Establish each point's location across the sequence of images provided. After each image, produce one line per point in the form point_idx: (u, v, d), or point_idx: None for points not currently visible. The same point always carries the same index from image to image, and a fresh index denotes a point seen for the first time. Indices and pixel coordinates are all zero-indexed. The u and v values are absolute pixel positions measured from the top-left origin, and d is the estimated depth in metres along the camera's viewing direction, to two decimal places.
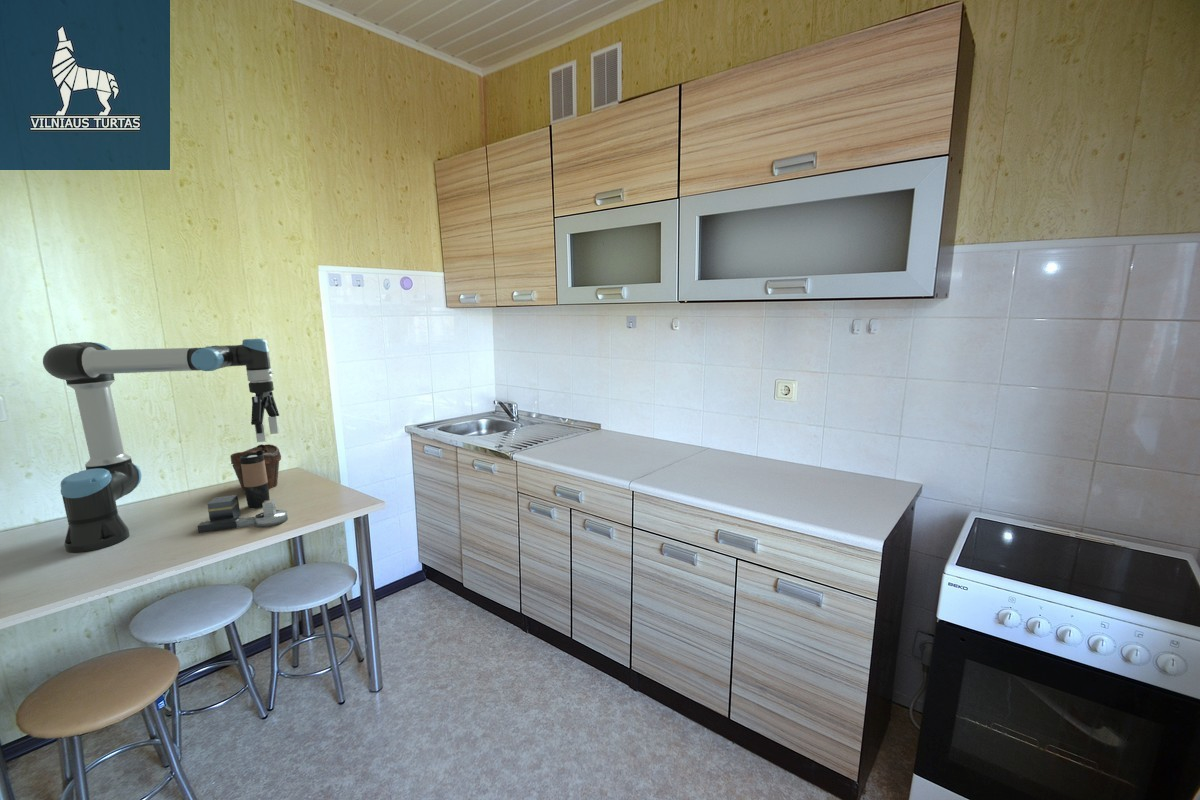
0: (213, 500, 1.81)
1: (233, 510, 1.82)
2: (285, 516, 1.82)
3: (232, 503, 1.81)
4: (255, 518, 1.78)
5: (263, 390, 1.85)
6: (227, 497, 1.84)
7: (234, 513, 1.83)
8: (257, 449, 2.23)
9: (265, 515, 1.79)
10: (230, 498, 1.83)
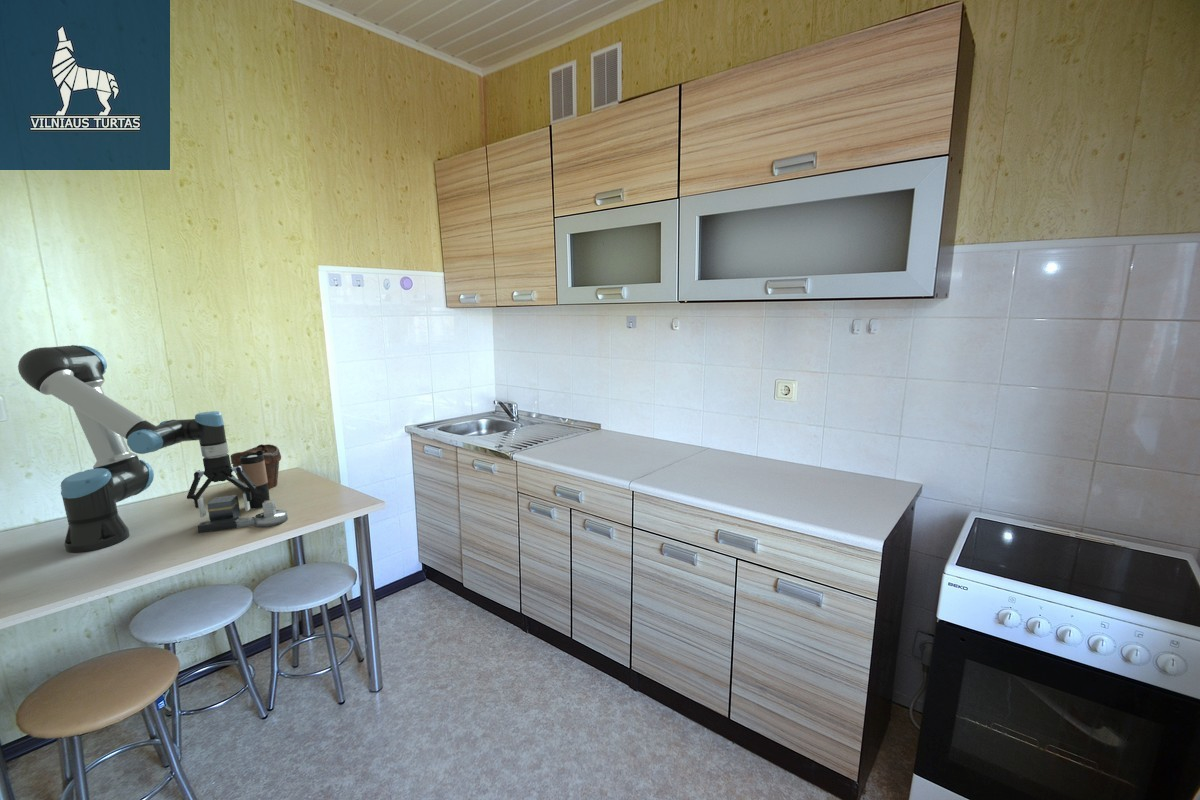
0: (213, 500, 1.81)
1: (233, 510, 1.82)
2: (285, 516, 1.82)
3: (232, 503, 1.81)
4: (255, 518, 1.78)
5: (204, 466, 1.78)
6: (227, 497, 1.84)
7: (234, 513, 1.83)
8: (257, 449, 2.23)
9: (265, 515, 1.79)
10: (230, 498, 1.83)
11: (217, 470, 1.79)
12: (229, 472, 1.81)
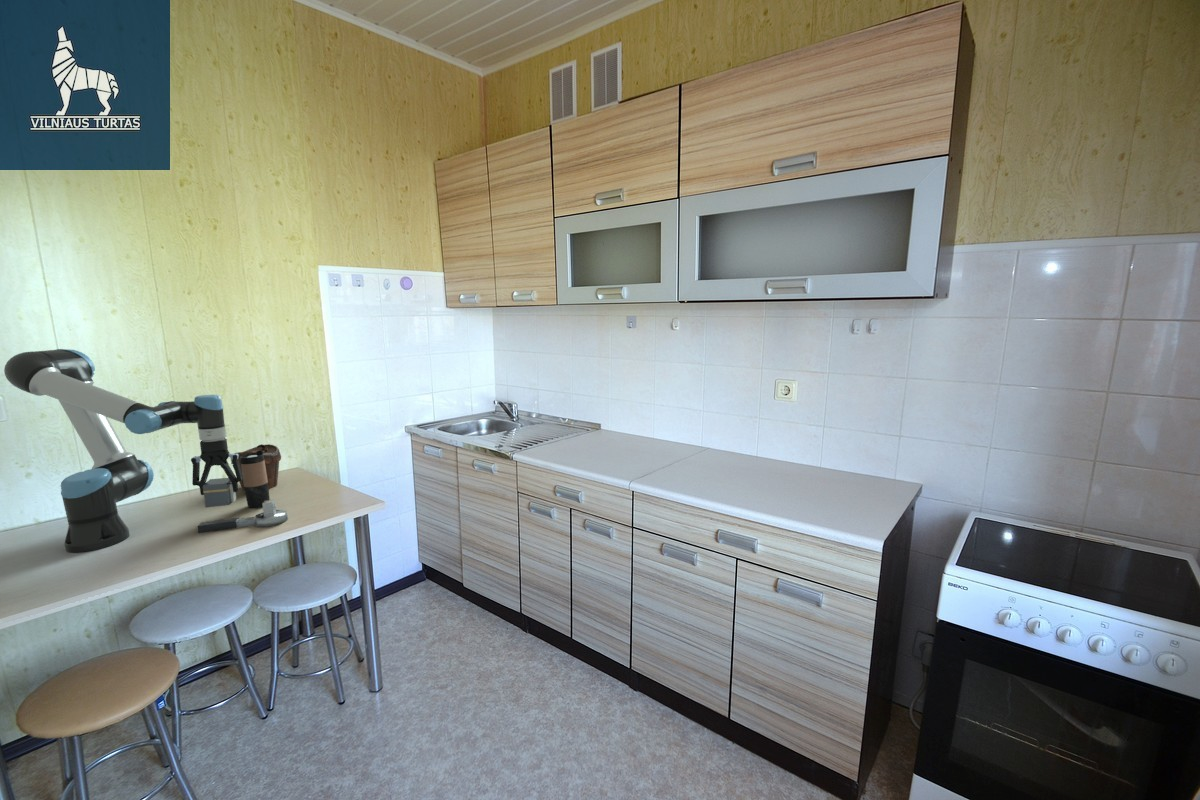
0: (209, 482, 1.80)
1: (228, 492, 1.80)
2: (285, 516, 1.82)
3: (228, 485, 1.80)
4: (255, 518, 1.78)
5: None
6: (223, 480, 1.82)
7: (229, 495, 1.81)
8: (257, 449, 2.23)
9: (265, 515, 1.79)
10: (226, 480, 1.82)
11: (214, 454, 1.78)
12: (226, 456, 1.80)
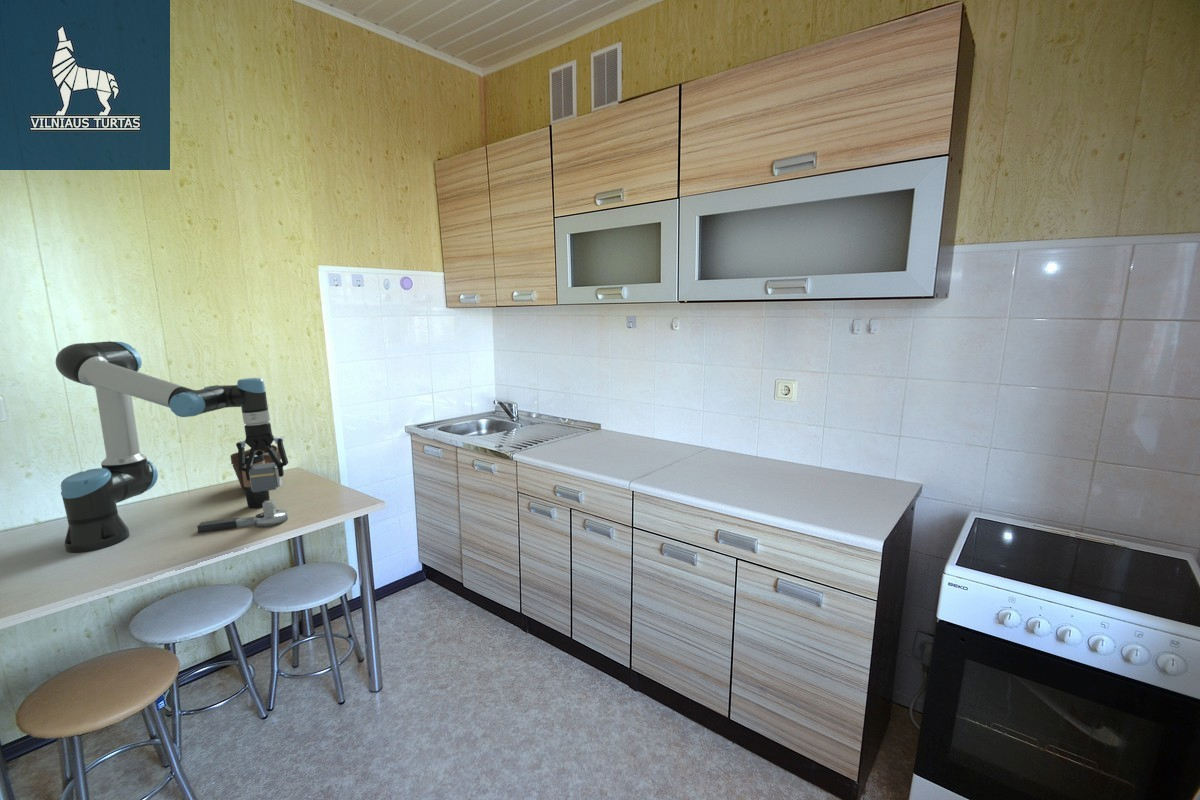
0: (254, 466, 1.77)
1: (275, 477, 1.77)
2: (285, 516, 1.82)
3: (274, 469, 1.77)
4: (255, 518, 1.78)
5: None
6: (268, 464, 1.79)
7: (276, 480, 1.78)
8: None
9: (265, 515, 1.79)
10: (271, 465, 1.78)
11: (258, 438, 1.75)
12: (270, 440, 1.77)
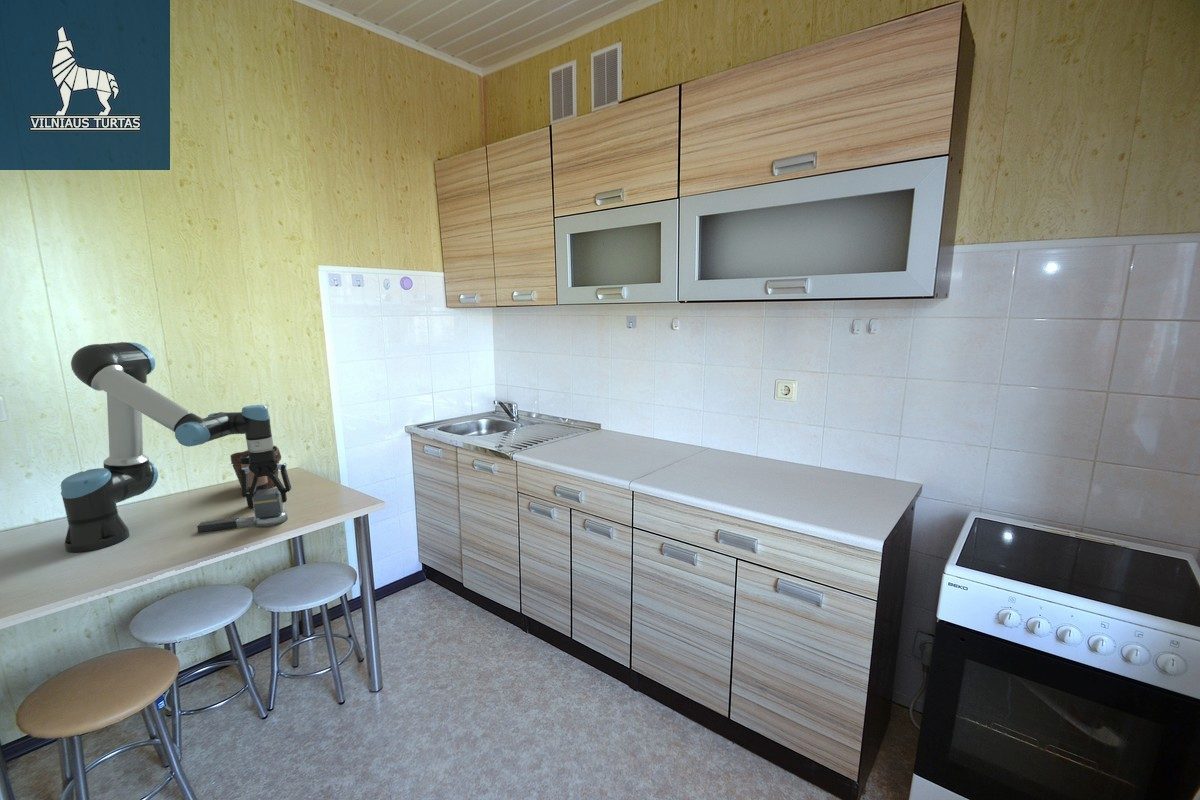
0: (258, 493, 1.78)
1: (278, 503, 1.79)
2: (285, 516, 1.82)
3: (277, 496, 1.79)
4: (255, 518, 1.78)
5: (249, 461, 1.75)
6: (271, 490, 1.81)
7: (279, 505, 1.80)
8: None
9: None
10: (274, 491, 1.80)
11: (262, 465, 1.77)
12: (274, 467, 1.78)
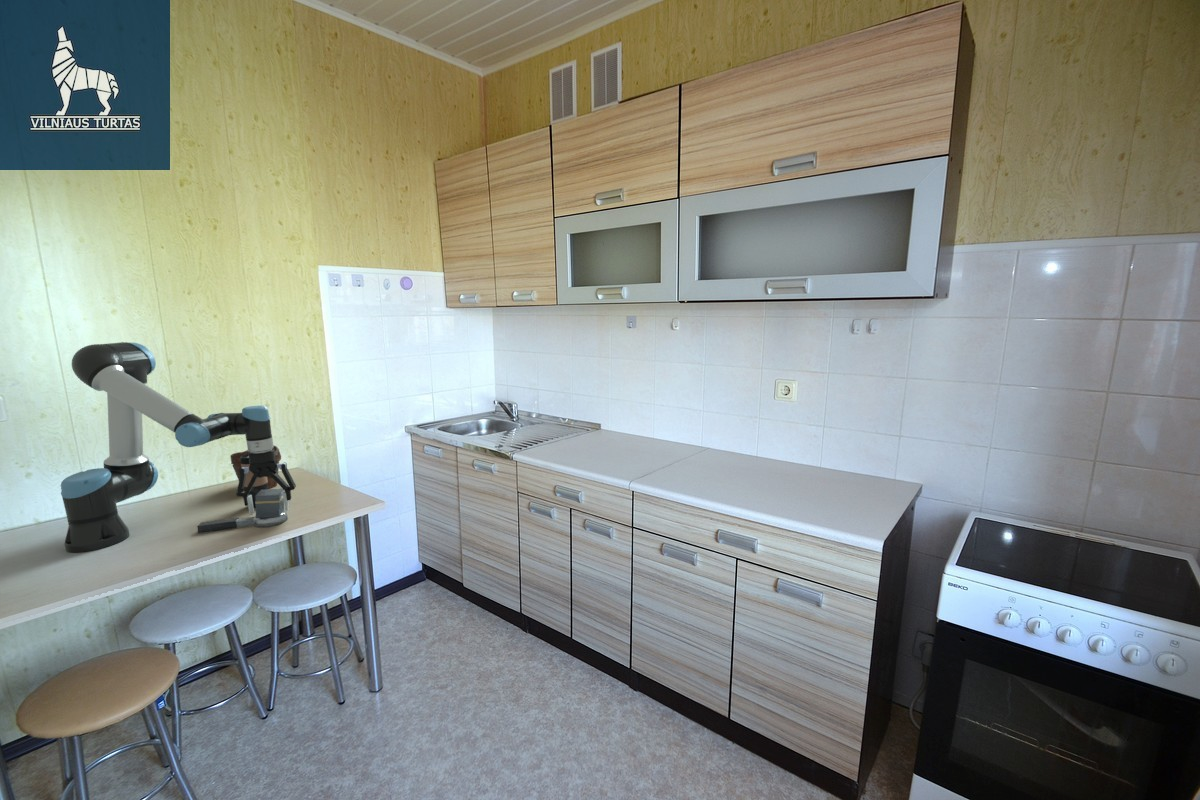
0: (260, 492, 1.79)
1: (279, 504, 1.79)
2: (285, 516, 1.82)
3: (279, 497, 1.79)
4: (255, 518, 1.78)
5: (249, 461, 1.75)
6: (274, 491, 1.81)
7: (280, 507, 1.80)
8: None
9: None
10: (277, 492, 1.80)
11: (262, 465, 1.77)
12: (274, 467, 1.78)
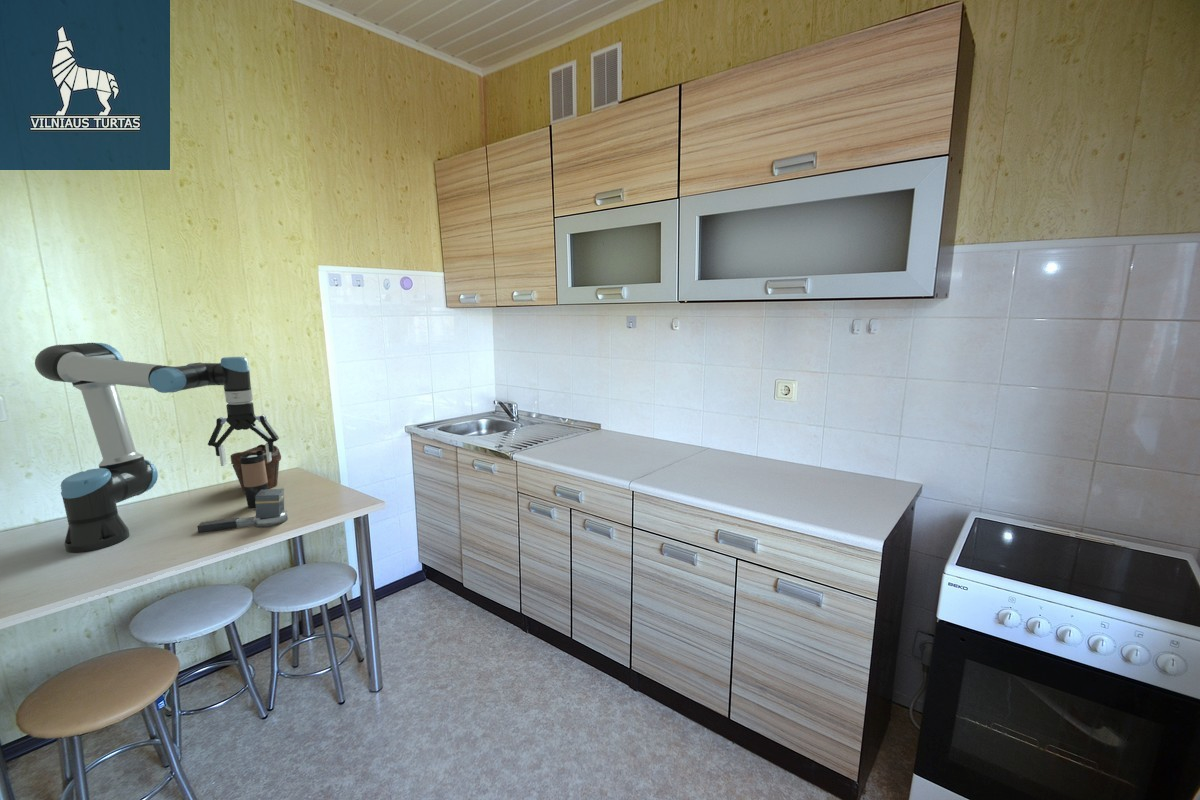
0: (260, 492, 1.79)
1: (279, 504, 1.79)
2: (285, 516, 1.82)
3: (279, 497, 1.79)
4: (255, 518, 1.78)
5: (227, 413, 1.72)
6: (274, 491, 1.81)
7: (280, 507, 1.80)
8: (257, 449, 2.23)
9: None
10: (277, 492, 1.80)
11: (240, 418, 1.74)
12: (252, 420, 1.75)
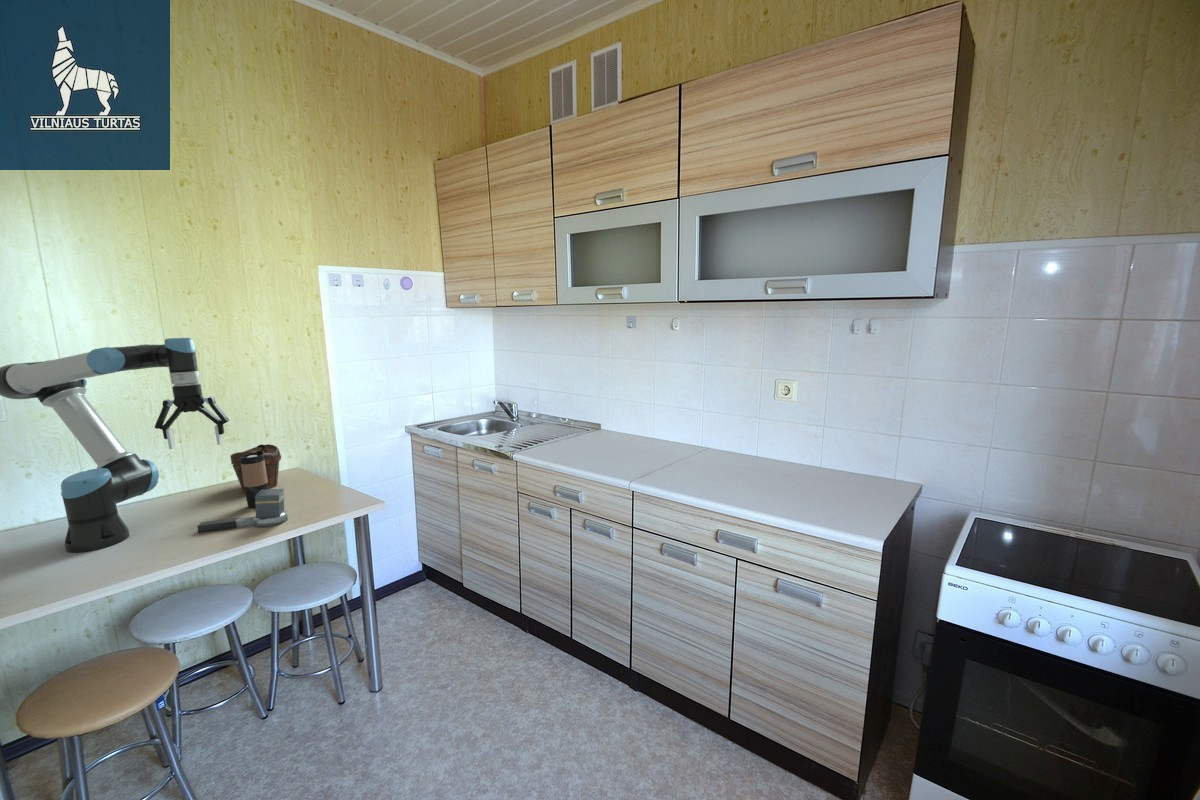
0: (260, 492, 1.79)
1: (279, 504, 1.79)
2: (285, 516, 1.82)
3: (279, 497, 1.79)
4: (255, 518, 1.78)
5: (173, 394, 1.69)
6: (274, 491, 1.81)
7: (280, 507, 1.80)
8: (257, 449, 2.23)
9: None
10: (277, 492, 1.80)
11: (187, 399, 1.71)
12: (200, 402, 1.72)
